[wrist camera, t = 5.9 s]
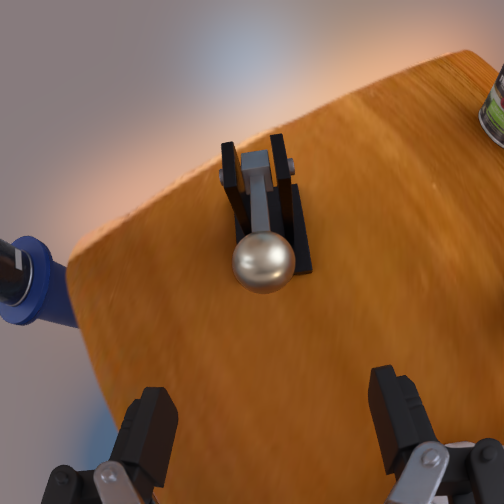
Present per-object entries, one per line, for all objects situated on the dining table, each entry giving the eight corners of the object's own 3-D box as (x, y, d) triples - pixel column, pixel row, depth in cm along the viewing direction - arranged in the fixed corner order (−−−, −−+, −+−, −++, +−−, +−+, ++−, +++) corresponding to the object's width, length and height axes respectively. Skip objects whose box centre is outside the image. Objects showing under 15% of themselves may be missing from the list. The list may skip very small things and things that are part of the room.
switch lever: (300, 301, 18) (296, 259, 15) (238, 309, 18) (224, 269, 16) (279, 177, 27) (274, 141, 25) (239, 183, 27) (231, 148, 25)
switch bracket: (312, 272, 35) (319, 215, 21) (241, 282, 36) (205, 231, 22) (297, 188, 39) (293, 103, 25) (234, 197, 39) (202, 118, 26)
